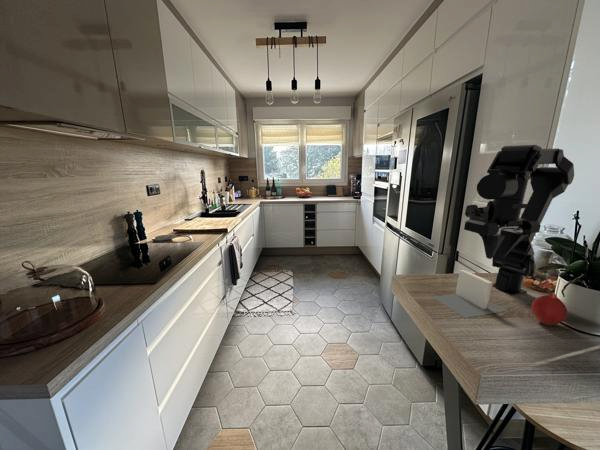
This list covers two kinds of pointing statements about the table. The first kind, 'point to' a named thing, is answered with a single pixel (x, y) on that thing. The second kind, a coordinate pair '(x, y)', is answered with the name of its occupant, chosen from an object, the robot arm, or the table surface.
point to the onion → (549, 309)
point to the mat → (467, 306)
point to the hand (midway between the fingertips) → (495, 257)
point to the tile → (474, 288)
